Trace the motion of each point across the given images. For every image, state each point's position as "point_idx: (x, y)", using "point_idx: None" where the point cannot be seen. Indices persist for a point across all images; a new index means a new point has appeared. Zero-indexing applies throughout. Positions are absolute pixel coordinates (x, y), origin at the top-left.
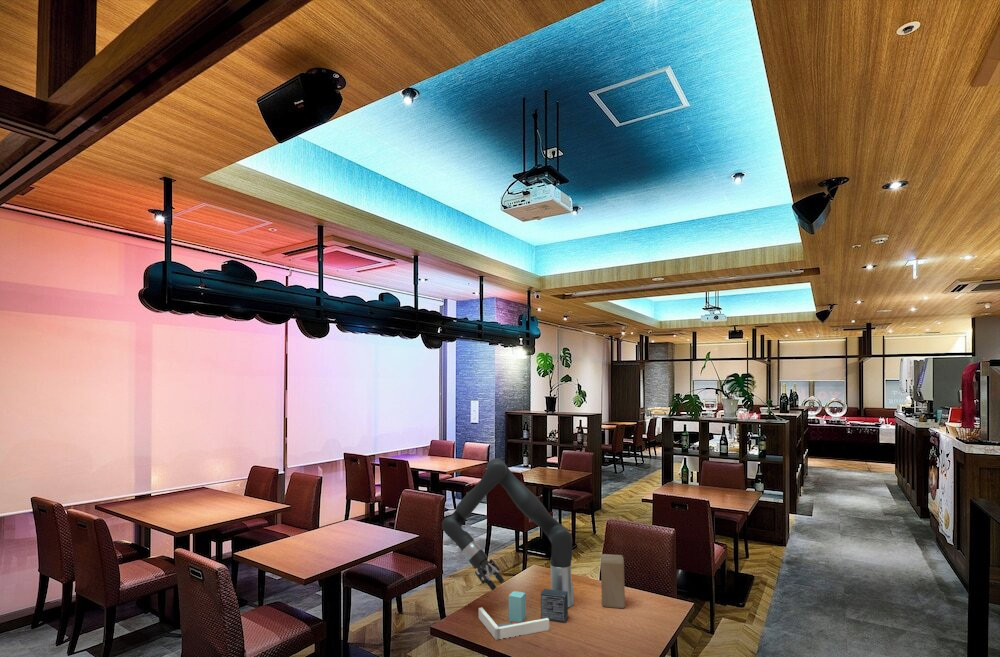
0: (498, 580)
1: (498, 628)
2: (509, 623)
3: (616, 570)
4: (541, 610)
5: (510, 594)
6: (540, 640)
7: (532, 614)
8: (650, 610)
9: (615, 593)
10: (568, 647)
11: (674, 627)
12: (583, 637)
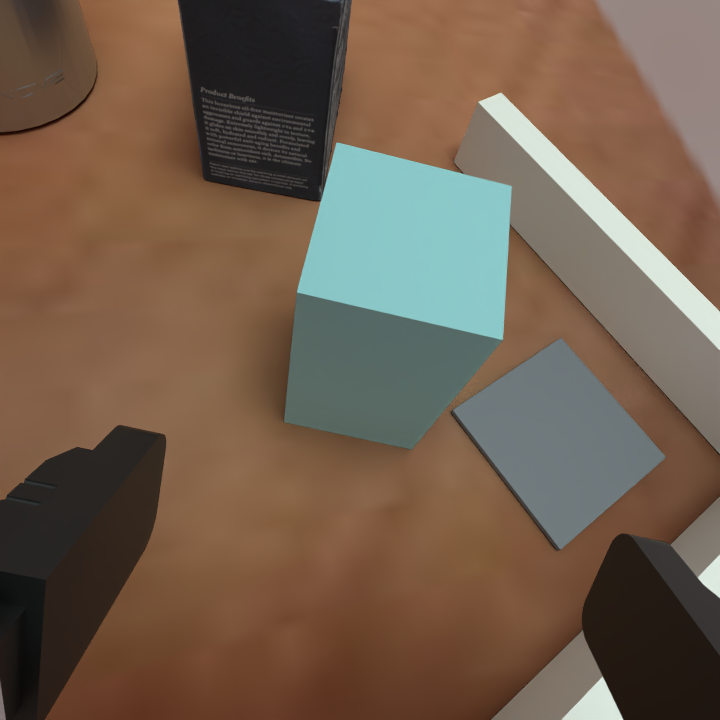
0: (113, 594)
1: None
2: (485, 427)
3: None
4: (327, 144)
5: (450, 320)
6: (629, 198)
7: (237, 264)
8: None
9: None
10: (633, 75)
11: None
12: (497, 10)
